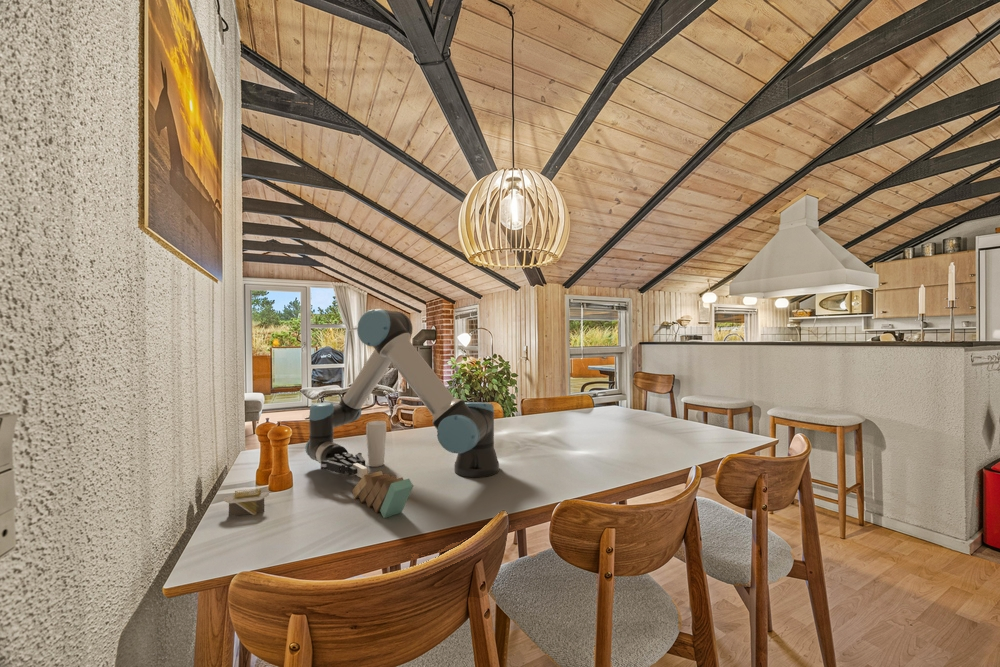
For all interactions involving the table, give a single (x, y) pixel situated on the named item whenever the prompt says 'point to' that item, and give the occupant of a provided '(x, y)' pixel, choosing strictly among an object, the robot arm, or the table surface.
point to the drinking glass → (376, 442)
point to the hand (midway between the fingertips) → (365, 473)
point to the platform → (246, 502)
